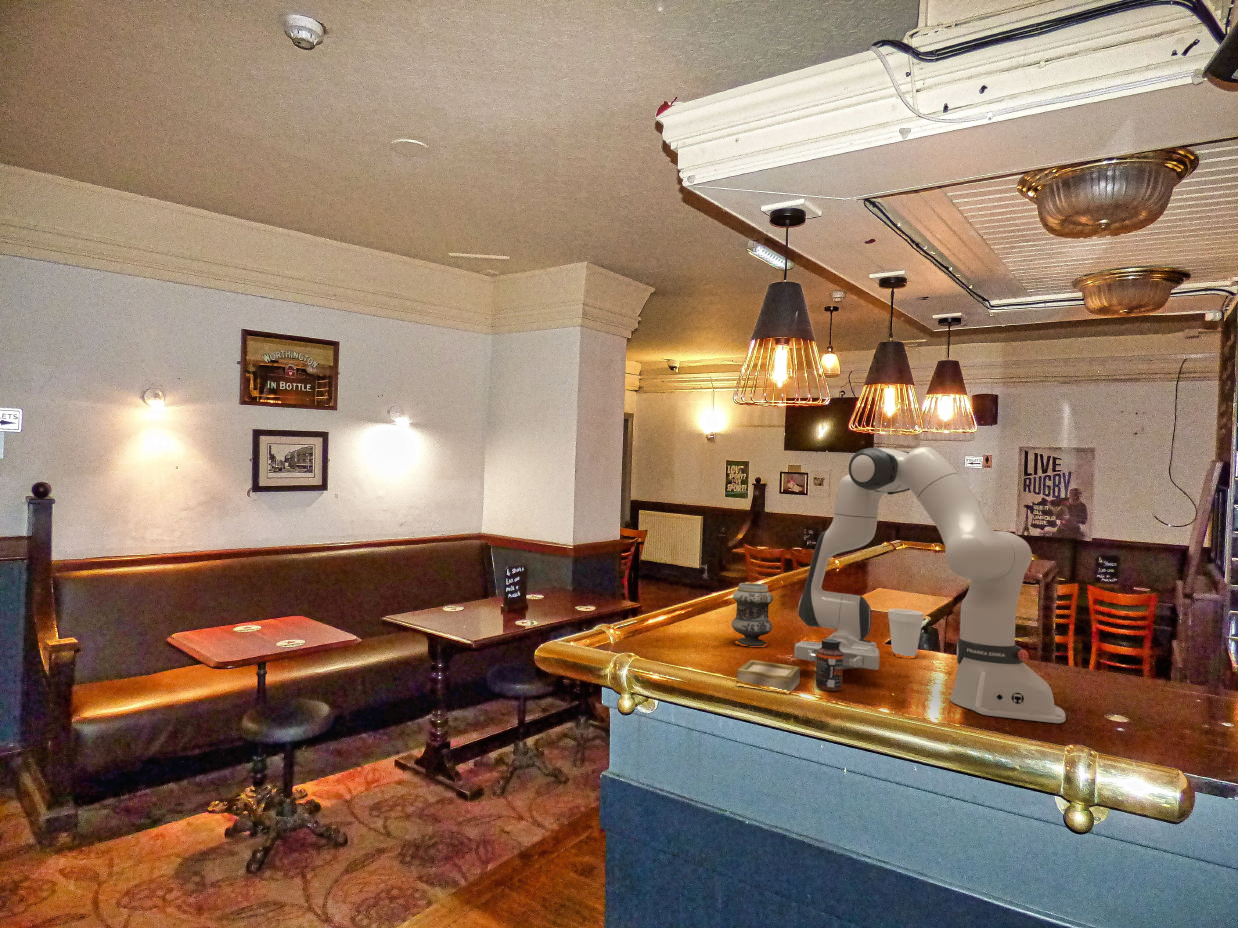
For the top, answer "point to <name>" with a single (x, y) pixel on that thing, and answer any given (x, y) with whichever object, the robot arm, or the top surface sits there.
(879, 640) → the top surface
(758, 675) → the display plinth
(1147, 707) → the top surface
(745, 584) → the apothecary jar
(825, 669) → the supplement bottle
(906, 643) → the foam cup
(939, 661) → the top surface
